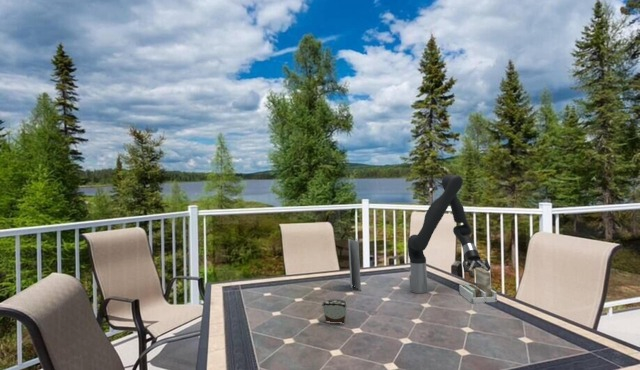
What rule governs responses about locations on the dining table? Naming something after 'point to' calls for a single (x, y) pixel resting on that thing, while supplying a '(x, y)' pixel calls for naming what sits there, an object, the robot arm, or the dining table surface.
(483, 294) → the rack
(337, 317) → the food container
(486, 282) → the grey green board
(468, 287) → the sage offcut board
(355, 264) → the dark grey tall slab
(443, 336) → the dining table surface
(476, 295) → the grey green block
